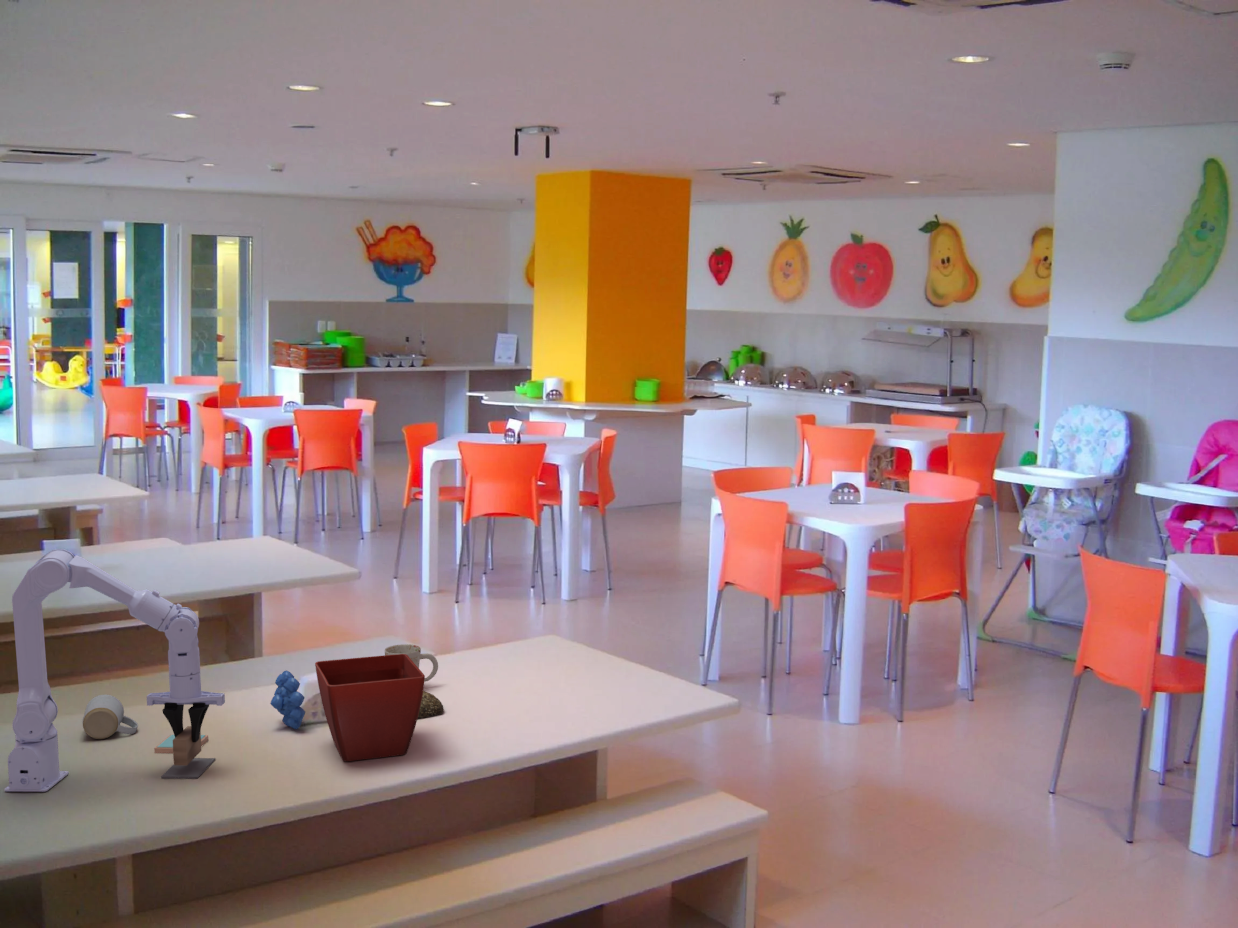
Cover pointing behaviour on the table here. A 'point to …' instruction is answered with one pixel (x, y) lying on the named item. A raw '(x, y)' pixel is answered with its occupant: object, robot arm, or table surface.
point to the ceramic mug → (106, 718)
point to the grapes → (288, 700)
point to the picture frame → (167, 744)
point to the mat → (189, 769)
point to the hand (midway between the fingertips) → (187, 740)
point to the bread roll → (430, 706)
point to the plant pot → (371, 704)
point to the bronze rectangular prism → (185, 747)
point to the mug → (413, 656)
